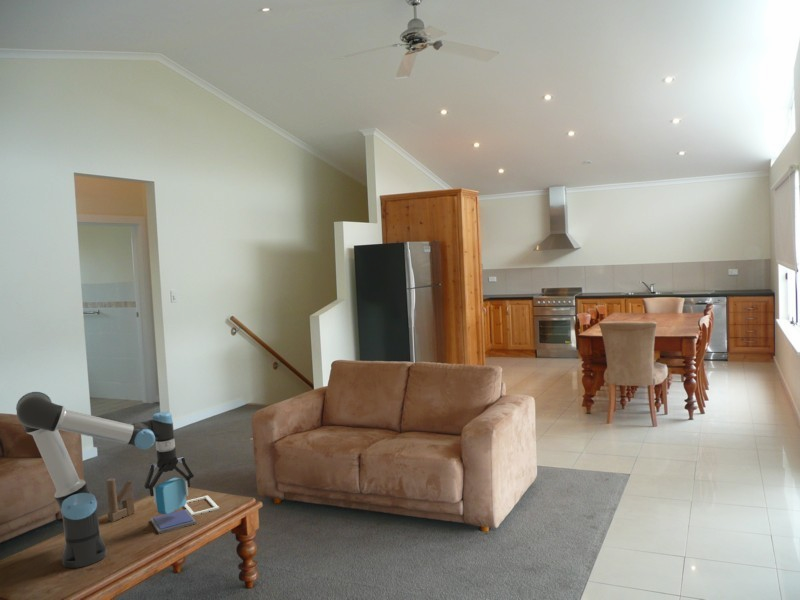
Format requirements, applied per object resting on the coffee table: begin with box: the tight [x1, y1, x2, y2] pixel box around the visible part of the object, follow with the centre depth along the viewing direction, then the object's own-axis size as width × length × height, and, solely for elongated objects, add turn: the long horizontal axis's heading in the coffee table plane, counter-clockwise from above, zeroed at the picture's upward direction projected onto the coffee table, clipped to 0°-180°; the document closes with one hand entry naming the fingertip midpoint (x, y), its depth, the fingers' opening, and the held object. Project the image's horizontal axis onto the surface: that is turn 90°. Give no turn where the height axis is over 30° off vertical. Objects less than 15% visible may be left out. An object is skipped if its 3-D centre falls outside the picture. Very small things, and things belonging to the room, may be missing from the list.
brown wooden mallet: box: [105, 477, 136, 522], centre depth 281 cm, size 4×11×18 cm, turn 147°
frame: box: [183, 495, 220, 517], centre depth 288 cm, size 12×19×1 cm, turn 31°
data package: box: [155, 477, 187, 515], centre depth 270 cm, size 12×4×12 cm, turn 155°
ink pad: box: [150, 508, 197, 535], centre depth 271 cm, size 15×17×2 cm
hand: (171, 499), depth 270 cm, fingers closed on data package, 12 cm apart
